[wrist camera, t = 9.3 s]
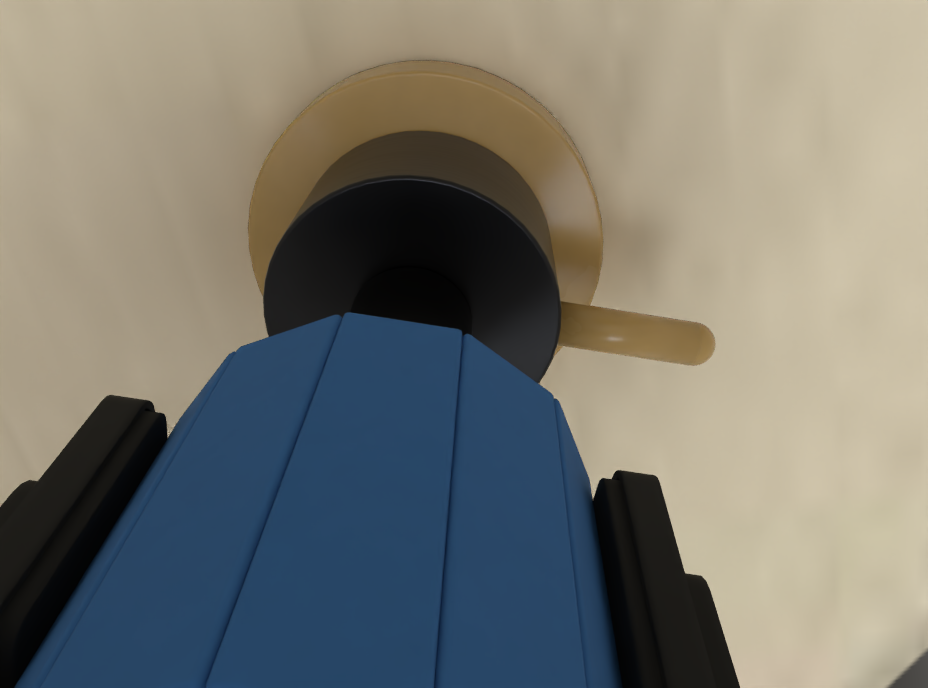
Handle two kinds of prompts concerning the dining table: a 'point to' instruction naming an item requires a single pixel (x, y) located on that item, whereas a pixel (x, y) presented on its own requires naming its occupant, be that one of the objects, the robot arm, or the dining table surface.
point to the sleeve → (350, 530)
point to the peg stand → (444, 220)
